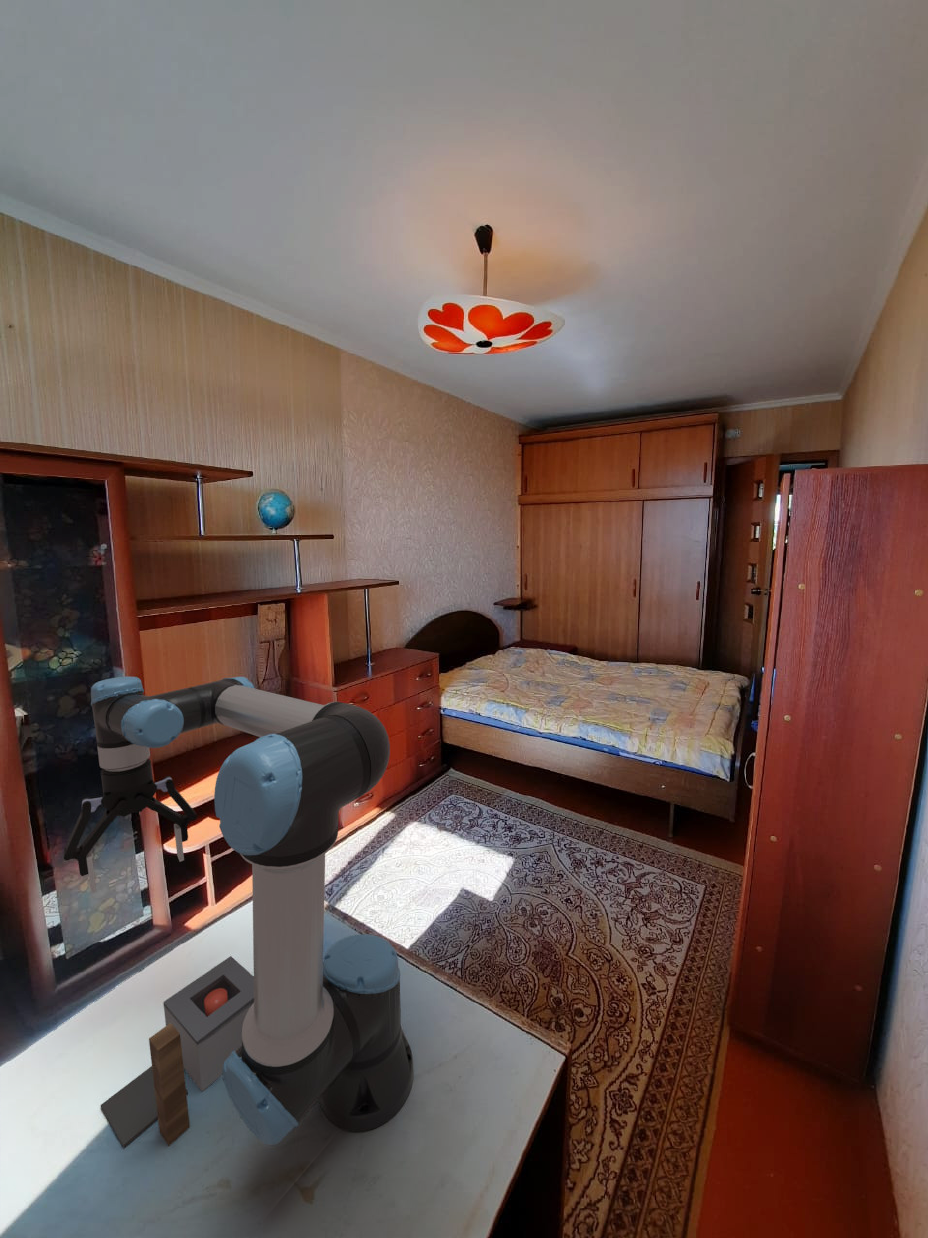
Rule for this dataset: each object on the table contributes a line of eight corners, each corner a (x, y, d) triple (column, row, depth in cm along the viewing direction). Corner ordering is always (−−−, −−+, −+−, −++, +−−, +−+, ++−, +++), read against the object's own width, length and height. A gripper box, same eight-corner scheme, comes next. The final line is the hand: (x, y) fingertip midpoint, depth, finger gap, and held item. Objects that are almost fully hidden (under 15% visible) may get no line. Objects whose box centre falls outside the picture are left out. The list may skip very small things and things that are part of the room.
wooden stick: (189, 1127, 75) (180, 1034, 72) (168, 1146, 72) (157, 1050, 70) (180, 1114, 76) (170, 1022, 74) (159, 1132, 74) (148, 1038, 72)
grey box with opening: (269, 1033, 89) (266, 988, 88) (202, 1092, 79) (197, 1042, 78) (234, 998, 96) (230, 956, 95) (168, 1048, 86) (163, 1002, 85)
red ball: (233, 1017, 87) (231, 995, 87) (212, 1033, 85) (210, 1010, 84) (222, 1006, 90) (220, 985, 89) (202, 1021, 87) (200, 999, 86)
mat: (187, 1094, 79) (187, 1091, 79) (123, 1149, 72) (123, 1145, 72) (162, 1060, 84) (162, 1057, 84) (100, 1108, 77) (100, 1105, 77)
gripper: (198, 740, 100) (208, 838, 102) (35, 777, 84) (52, 892, 87) (206, 750, 94) (217, 855, 96) (33, 792, 78) (51, 915, 81)
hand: (139, 873), depth 92 cm, fingers open, 13 cm apart
